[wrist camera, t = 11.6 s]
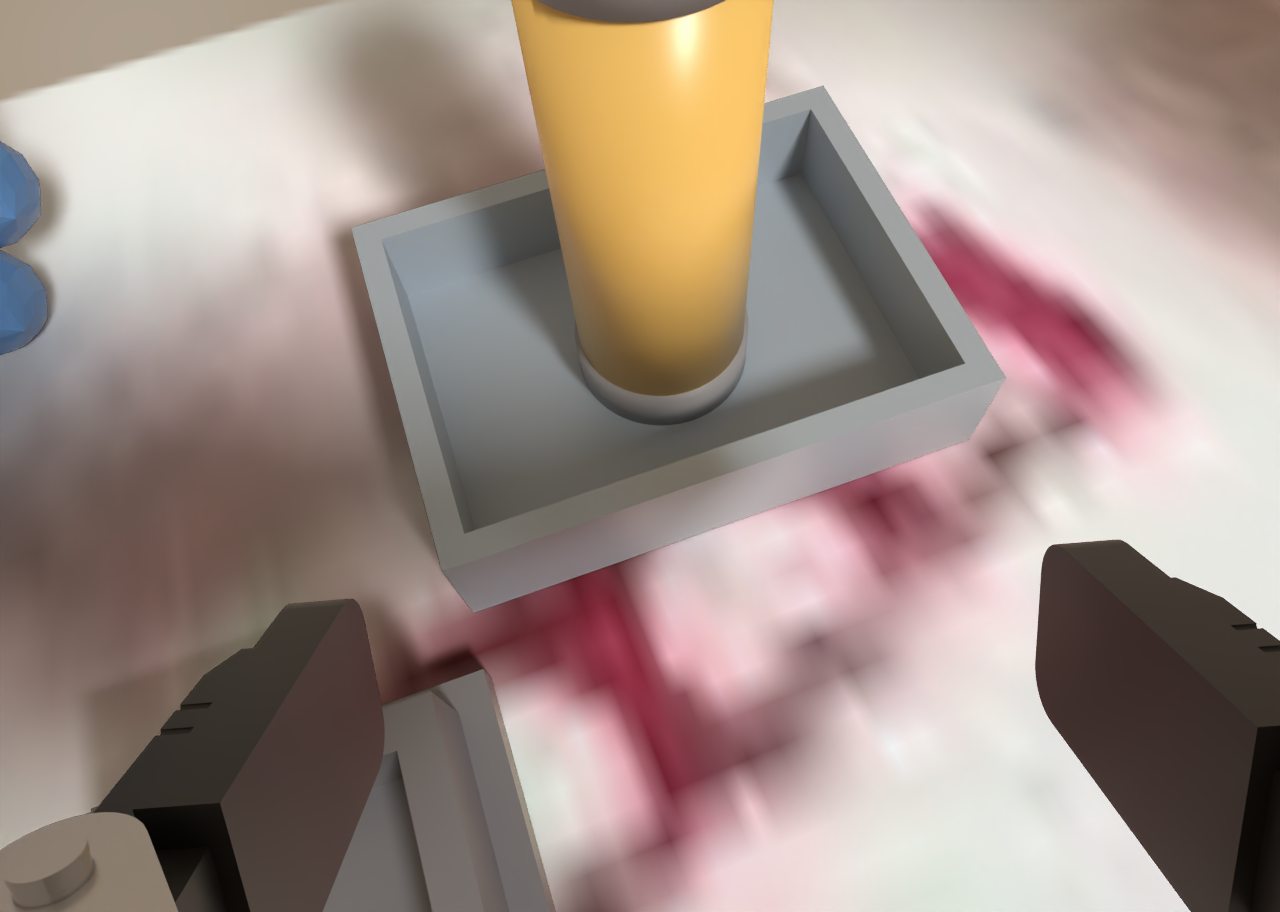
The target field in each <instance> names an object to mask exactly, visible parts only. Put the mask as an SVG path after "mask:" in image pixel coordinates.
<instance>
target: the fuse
mask: <svg viewBox="0 0 1280 912" xmlns="http://www.w3.org/2000/svg"><path fill="white" fill-rule="evenodd" d="M511 1H512V6H513V11H514V16H515V21H516V26H517V31H518V36H519V41H520V45H521V50H522V55H523V60H524V65H525V70H526V75H527V80H528V85H529V90H530V95H531V100H532V105H533V110H534V115H535V120H536V125H537V130H538V135H539V140H540V145H541V150H542V155H543V160H544V165H545V170H546V175H547V180H548V185H549V190H550V195H551V200H552V205H553V210H554V215H555V220H556V225H557V230H558V235H559V240H560V245H561V250H562V255H563V260H564V265H565V270H566V275H567V279H568V284H569V289H570V294H571V299H572V304H573V309H574V314H575V324H574V334H575V342H576V346H577V351H578V356H579V361H580V365H581V370H582V373H583V377H584V379H585V382H586V384H587V386H588V388H589V389H590V391H591V392H592V394H593V395H594V396H595V397H596V398H597V400H598V401H599V402H600V403H601V404H603V405H604V406H605V407H606V408H607V409H609V410H610V411H612V412H613V413H615V414H617V415H619V416H621V417H623V418H625V419H628V420H631V421H634V422H637V423H642V424H646V425H657V426H662V425H675V424H681V423H685V422H689V421H692V420H695V419H697V418H700V417H702V416H704V415H706V414H708V413H709V412H711V411H713V410H714V409H715V408H717V407H718V406H720V405H721V404H722V403H723V402H724V401H725V400H726V399H727V398H728V397H729V396H730V394H731V393H732V392H733V391H734V389H735V388H736V386H737V384H738V383H739V381H740V378H741V376H742V373H743V370H744V366H745V359H746V348H747V338H748V327H749V324H748V314H747V310H746V300H747V289H748V278H749V267H750V256H751V245H752V234H753V222H754V211H755V200H756V189H757V178H758V167H759V156H760V145H761V134H762V122H763V111H764V100H765V89H766V78H767V67H768V56H769V45H770V34H771V22H772V11H773V0H511Z"/></svg>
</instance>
